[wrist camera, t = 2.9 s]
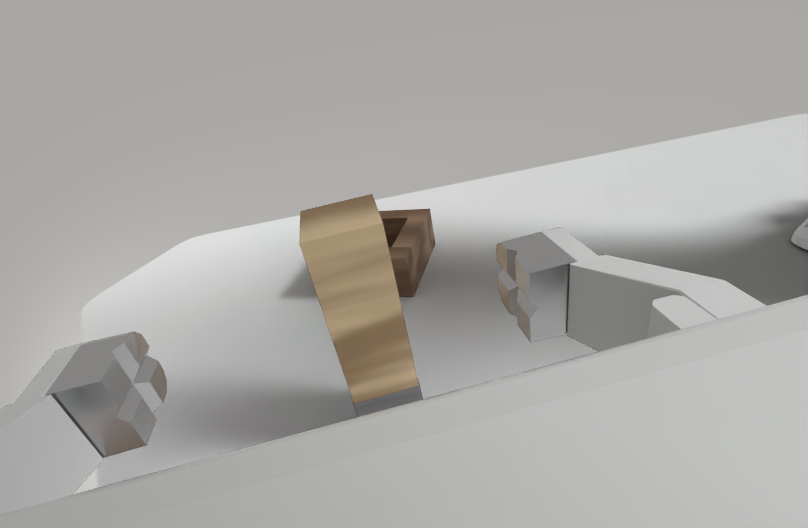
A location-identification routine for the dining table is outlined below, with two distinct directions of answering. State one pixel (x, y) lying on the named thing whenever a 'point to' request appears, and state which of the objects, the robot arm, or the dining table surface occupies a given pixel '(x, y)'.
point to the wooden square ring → (408, 245)
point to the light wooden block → (360, 302)
